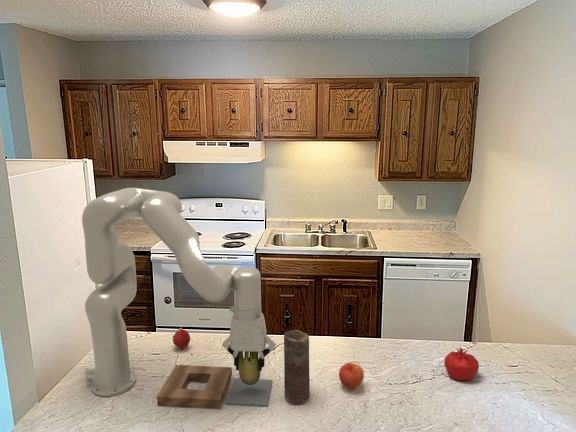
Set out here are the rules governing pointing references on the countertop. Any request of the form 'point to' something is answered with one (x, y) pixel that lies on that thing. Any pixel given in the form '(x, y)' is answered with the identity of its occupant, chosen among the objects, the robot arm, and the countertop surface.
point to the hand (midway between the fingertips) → (249, 367)
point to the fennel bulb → (249, 367)
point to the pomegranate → (461, 365)
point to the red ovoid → (181, 338)
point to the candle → (296, 367)
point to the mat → (249, 393)
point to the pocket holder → (191, 398)
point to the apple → (351, 375)
